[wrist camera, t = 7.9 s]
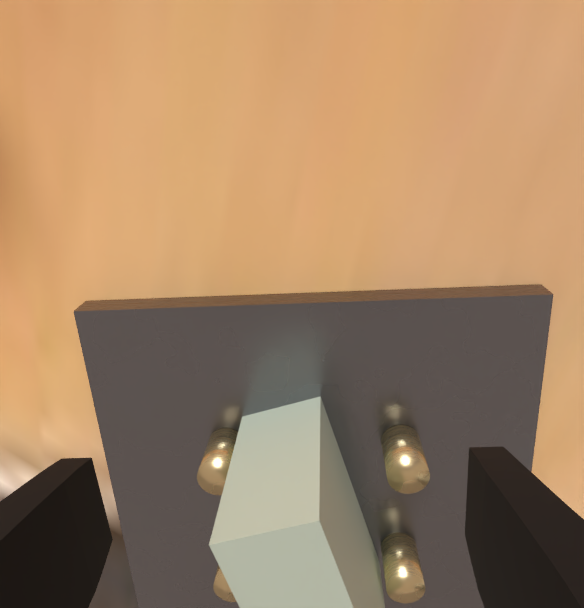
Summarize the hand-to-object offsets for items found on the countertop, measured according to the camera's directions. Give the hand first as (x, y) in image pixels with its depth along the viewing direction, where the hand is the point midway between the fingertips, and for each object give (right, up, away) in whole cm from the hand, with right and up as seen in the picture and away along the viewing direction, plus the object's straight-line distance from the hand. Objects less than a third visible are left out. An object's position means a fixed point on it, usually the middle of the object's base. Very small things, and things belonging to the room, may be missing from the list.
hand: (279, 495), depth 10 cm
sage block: (+1, -4, +10) cm, 11 cm away
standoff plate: (+1, -3, +11) cm, 12 cm away
